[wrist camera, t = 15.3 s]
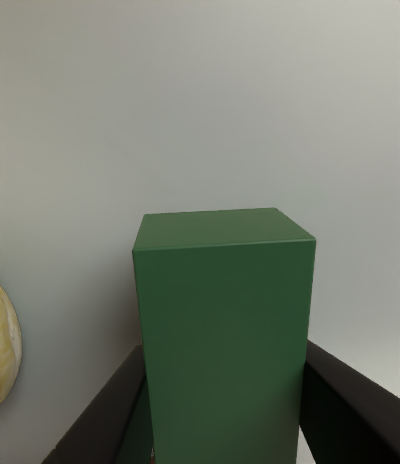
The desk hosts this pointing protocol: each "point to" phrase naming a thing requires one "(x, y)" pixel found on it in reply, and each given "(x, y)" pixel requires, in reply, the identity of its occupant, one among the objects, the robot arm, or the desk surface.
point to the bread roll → (8, 345)
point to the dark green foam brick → (224, 333)
